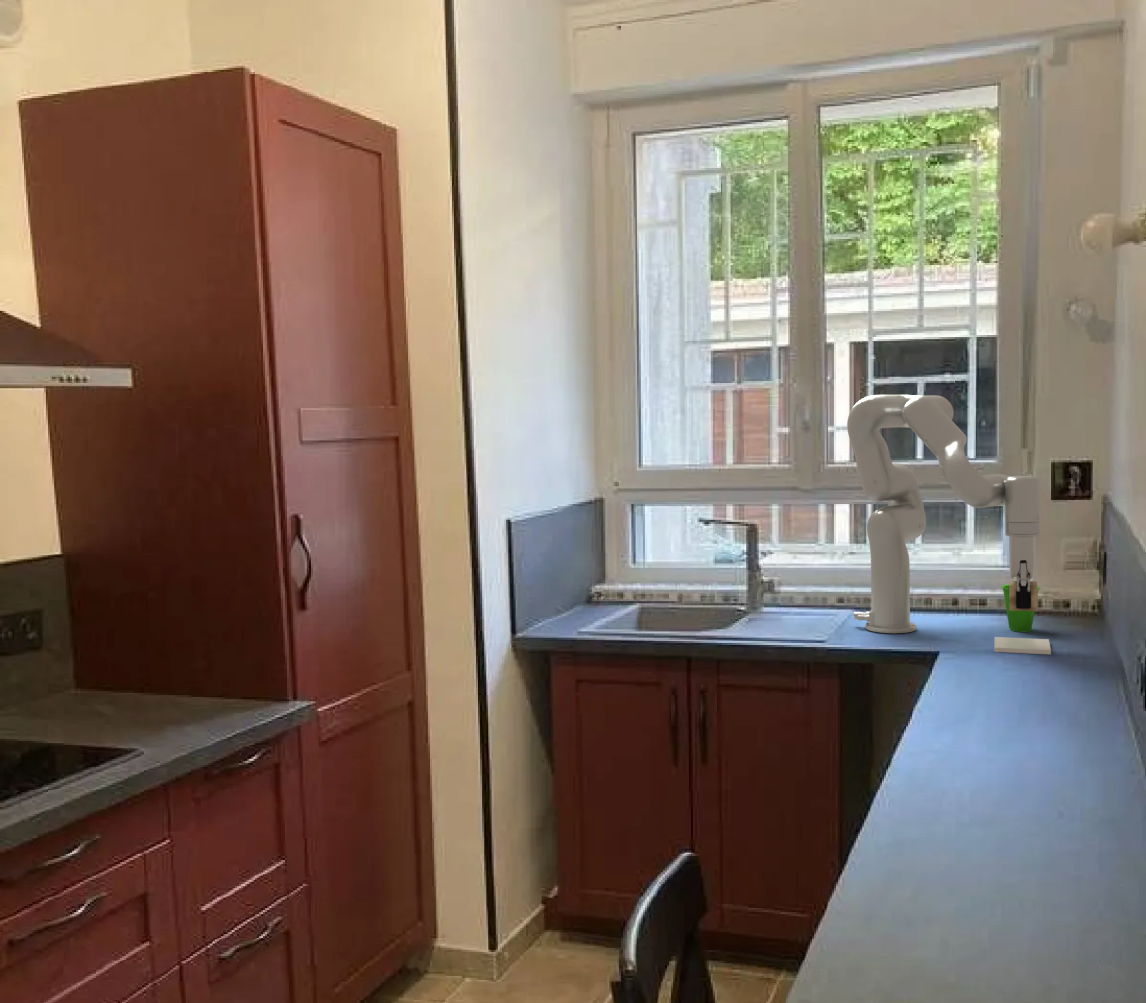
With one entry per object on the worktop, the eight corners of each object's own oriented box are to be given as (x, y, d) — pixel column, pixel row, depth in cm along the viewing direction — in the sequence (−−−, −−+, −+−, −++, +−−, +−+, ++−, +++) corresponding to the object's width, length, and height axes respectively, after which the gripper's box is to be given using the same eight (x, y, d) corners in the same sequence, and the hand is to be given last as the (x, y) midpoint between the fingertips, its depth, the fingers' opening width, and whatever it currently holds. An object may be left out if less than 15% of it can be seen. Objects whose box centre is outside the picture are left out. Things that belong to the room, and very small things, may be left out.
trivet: (994, 651, 256) (994, 647, 255) (994, 641, 267) (994, 637, 267) (1050, 654, 251) (1050, 650, 251) (1048, 643, 262) (1048, 639, 262)
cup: (1045, 633, 274) (1046, 589, 273) (1008, 634, 274) (1009, 590, 273) (1031, 626, 283) (1031, 583, 282) (995, 626, 283) (995, 584, 282)
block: (1009, 610, 256) (1009, 584, 256) (1009, 606, 262) (1009, 580, 261) (1037, 611, 254) (1037, 585, 254) (1037, 606, 260) (1036, 581, 259)
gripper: (1005, 525, 266) (1005, 599, 267) (1005, 533, 250) (1006, 612, 251) (1039, 525, 263) (1039, 600, 265) (1041, 533, 247) (1042, 613, 249)
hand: (1023, 605), depth 258 cm, fingers closed on block, 6 cm apart
